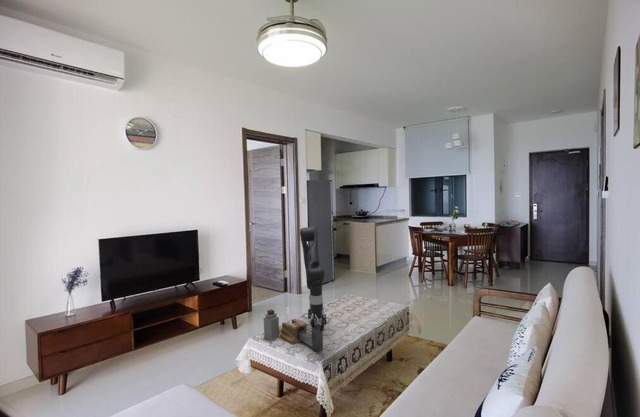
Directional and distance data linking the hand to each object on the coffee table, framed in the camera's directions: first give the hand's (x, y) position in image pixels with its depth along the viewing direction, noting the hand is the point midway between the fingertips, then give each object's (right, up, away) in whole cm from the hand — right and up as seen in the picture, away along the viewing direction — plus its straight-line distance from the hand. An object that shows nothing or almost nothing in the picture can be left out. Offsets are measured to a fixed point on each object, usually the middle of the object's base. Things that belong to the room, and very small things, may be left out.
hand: (317, 328), depth 208 cm
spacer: (-21, -10, +26) cm, 35 cm away
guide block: (-15, -12, +19) cm, 27 cm away
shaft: (-7, -12, +10) cm, 17 cm away
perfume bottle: (-30, -13, +20) cm, 38 cm away
